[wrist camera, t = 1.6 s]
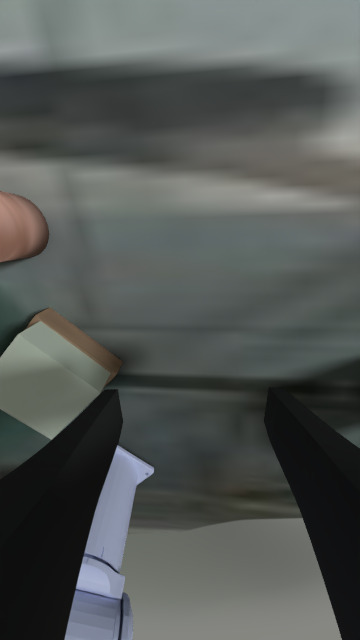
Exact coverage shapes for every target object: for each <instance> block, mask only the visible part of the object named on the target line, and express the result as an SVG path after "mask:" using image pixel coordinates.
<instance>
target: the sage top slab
mask: <svg viewBox="0 0 360 640" xmlns="http://www.w3.org/2000/svg"><path fill="white" fill-rule="evenodd" d="M110 374H111V373H110V372H109V371H107V370H106V369H105V368H103V367H102V366H101V365H99V364H98V363H97V362H95V361H94V360H93V359H91V358H90V357H89V356H87V355H86V354H85V353H83V352H82V351H80V350H79V349H78V348H76V347H75V346H74V345H72V344H71V343H70V342H68V341H67V340H66V339H64V338H63V337H62V336H60V335H59V334H58V333H56V332H55V331H54V330H52V329H51V328H49V327H48V326H47V325H45V324H44V323H43V322H41V321H39V322H38V323H36V324H34V325H33V326H31V327H29V328H28V329H26V330H24V331H23V332H21V333H19V334H18V335H17V336H16V338H15V339H14V340H13V342H12V343H11V344H10V345H9V347H8V348H7V349H6V351H5V352H4V353H3V355H2V356H1V357H0V409H1V410H3V411H4V412H6V413H8V414H9V415H11V416H13V417H14V418H16V419H18V420H19V421H21V422H23V423H24V424H26V425H28V426H29V427H31V428H33V429H34V430H36V431H38V432H40V433H41V434H43V435H45V436H46V437H48V438H50V439H51V440H52V439H53V438H54V437H55V436H56V435H57V434H58V433H59V432H60V431H61V430H62V429H63V428H64V427H65V426H66V425H67V424H68V423H69V422H71V421H72V420H73V419H74V418H75V417H76V416H77V415H78V414H79V413H80V412H81V411H82V410H83V409H84V408H85V407H86V406H87V405H88V404H89V403H90V402H91V401H92V400H93V399H95V398H96V397H97V396H98V395H99V394H100V393H101V391H102V389H103V387H104V385H105V383H106V381H107V380H108V378H109V376H110Z"/></svg>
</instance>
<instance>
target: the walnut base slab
mask: <svg viewBox="0 0 360 640" xmlns="http://www.w3.org/2000/svg"><path fill="white" fill-rule="evenodd" d="M39 321H41V322H43V323H44V324H45V325H47V326H48V327H49V328H51V329H52V330H54V331H55V332H56V333H58V334H59V335H60V336H62V337H63V338H64V339H66V340H67V341H68V342H70V343H71V344H72V345H74V346H75V347H76V348H78V349H79V350H80V351H82V352H83V353H85V354H86V355H87V356H89V357H90V358H91V359H93V360H94V361H95V362H97V363H98V364H99V365H101V366H102V367H103V368H105V369H106V370H107V371H109V372H110V373H111V374H110V376H109V378H108V380H107V381H106V383H105V385H104V387H105V386H106V385H107V384H108V383H109V382H110V381H111V380H112V379H113V378H114V377H115V376H116V375H117V373H118V371H119V369H120V367H121V365H122V363H123V362H122V361H121V360H120V359H118V358H117V357H116V356H114V355H113V354H112V353H110V352H109V351H108V350H106V349H105V348H104V347H102V346H101V345H100V344H98V343H97V342H96V341H94V340H93V339H92V338H90V337H89V336H88V335H86V334H85V333H83V332H82V331H81V330H79V329H78V328H77V327H75V326H74V325H73V324H71V323H70V322H69V321H67V320H66V319H65V318H63V317H62V316H61V315H59V314H58V313H57V312H55V311H54V310H53V309H51V308H50V307H49V308H48V309H46V310H44V311H42V312H40V313H38V314H37V315H35V316H34V318H33V319H32V320H31V322H30V323H29V325H28V326H27V327H26V329H28V328H29V327H31V326H33V325H34V324H36V323H38V322H39ZM26 329H25V330H26ZM104 387H103V388H104Z"/></svg>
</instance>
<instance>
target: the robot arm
mask: <svg viewBox="0 0 360 640" xmlns="http://www.w3.org/2000/svg"><path fill="white" fill-rule="evenodd" d="M264 422H265V426H266V429H267V433H268V436H269V439H270V442H271V444H272V447H273V449H274V451H275V454H276V456H277V458H278V461H279V463H280V465H281V467H282V470H283V472H284V474H285V476H286V479H287V481H288V483H289V485H290V488H291V490H292V492H293V494H294V497H295V499H296V502H297V504H298V507H299V509H300V512H301V514H302V517H303V520H304V523H305V525H306V529H307V531H308V534H309V537H310V540H311V543H312V546H313V549H314V552H315V555H316V558H317V561H318V564H319V567H320V570H321V573H322V576H323V579H324V582H325V585H326V588H327V592H328V595H329V598H330V601H331V605H332V608H333V611H334V614H335V617H336V621H337V624H338V627H339V631H340V634H341V638H342V640H360V448H358V447H357V446H355V445H354V444H352V443H351V442H350V441H348V440H347V439H346V438H344V437H343V436H342V435H340V434H339V433H338V432H336V431H335V430H334V429H332V428H331V427H330V426H328V425H327V424H326V423H325V422H323V421H322V420H321V419H320V418H318V417H317V416H316V415H315V414H313V413H312V412H311V411H310V410H309V409H307V408H306V407H305V406H304V405H303V404H301V403H300V402H299V401H298V400H297V399H295V398H294V397H293V396H292V395H291V394H290V393H288V392H287V391H286V390H285V389H283V388H269V391H268V397H267V404H266V410H265V417H264ZM122 424H123V418H122V412H121V407H120V401H119V395H118V389H114V390H104V391H103V392H102V393H101V394H100V395H99V396H98V397H97V398H96V399H95V400H94V401H93V402H92V403H91V404H90V405H89V406H88V407H87V408H86V409H85V410H84V411H83V412H82V413H81V414H80V415H79V416H78V417H77V418H76V419H75V420H74V421H73V422H72V423H70V424H69V425H68V426H67V427H66V428H65V429H64V430H63V431H62V432H61V433H59V434H58V435H57V436H56V437H55V438H54V439H53V440H52V441H50V442H49V443H48V444H47V445H46V446H45V447H43V448H42V449H41V450H40V451H38V452H37V453H36V454H35V455H33V456H32V457H31V458H29V459H28V460H27V461H26V462H24V463H23V464H22V465H20V466H19V467H18V468H16V469H15V470H13V471H12V472H11V473H9V474H8V475H6V476H5V477H4V478H2V479H1V480H0V640H132V638H133V614H132V609H131V606H130V600H129V597H128V595H127V594H126V593H122V592H123V586H124V581H125V576H124V575H121V574H120V569H121V563H122V558H123V552H124V547H125V542H126V537H127V532H128V526H129V521H130V516H131V511H132V505H133V500H134V495H135V490H136V485H138V484H139V483H140V482H142V481H143V480H145V479H146V478H147V477H149V476H150V475H151V474H153V473H154V468H153V467H152V466H150V465H149V464H147V463H145V462H144V461H142V460H141V459H139V458H137V457H136V456H134V455H133V454H131V453H129V452H128V451H126V450H125V449H123V448H121V447H120V446H118V442H119V438H120V434H121V429H122Z"/></svg>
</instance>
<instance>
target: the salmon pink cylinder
mask: <svg viewBox="0 0 360 640" xmlns="http://www.w3.org/2000/svg"><path fill="white" fill-rule="evenodd" d="M48 239H49V230H48V225H47V222H46V220H45V217H44V216H43V214H42V212H41V211H40V210H39V209H38V207H37V206H36V205H35V204H34V203H32V202H31V201H30V200H28V199H26V198H24V197H22V196H19V195H15V194H11V193H6V192H2V191H0V262H3V261H10V260H16V259H23V258H29V257H34V256H37V255H39V254H40V253H41V252H42V251H43V250H44V249H45V247H46V246H47V243H48Z"/></svg>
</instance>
